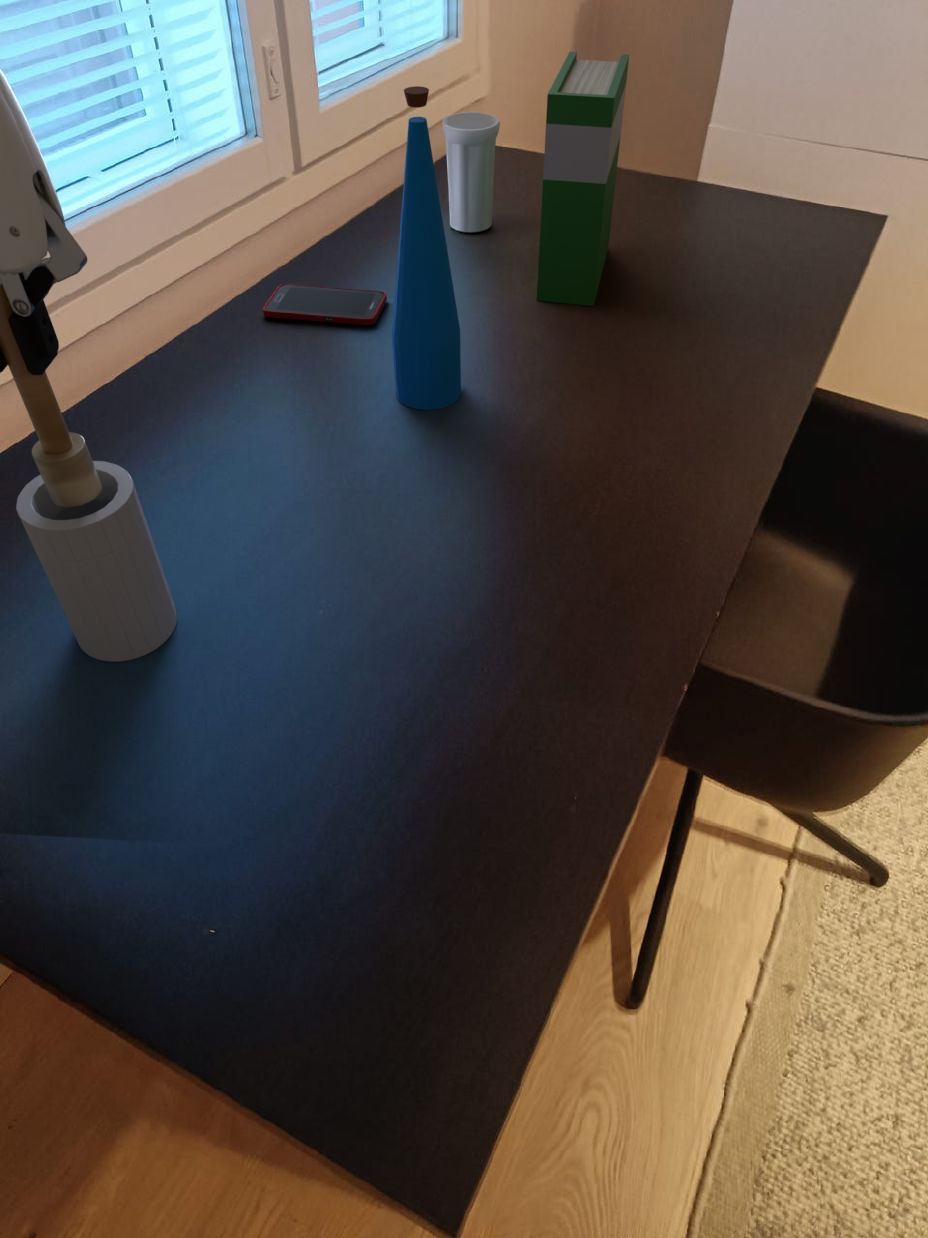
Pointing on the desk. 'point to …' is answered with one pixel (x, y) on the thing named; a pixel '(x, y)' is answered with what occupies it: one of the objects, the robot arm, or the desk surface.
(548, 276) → the hardback book
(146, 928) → the desk surface
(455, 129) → the cup
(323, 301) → the cell phone
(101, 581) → the grey hollow tube
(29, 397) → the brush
